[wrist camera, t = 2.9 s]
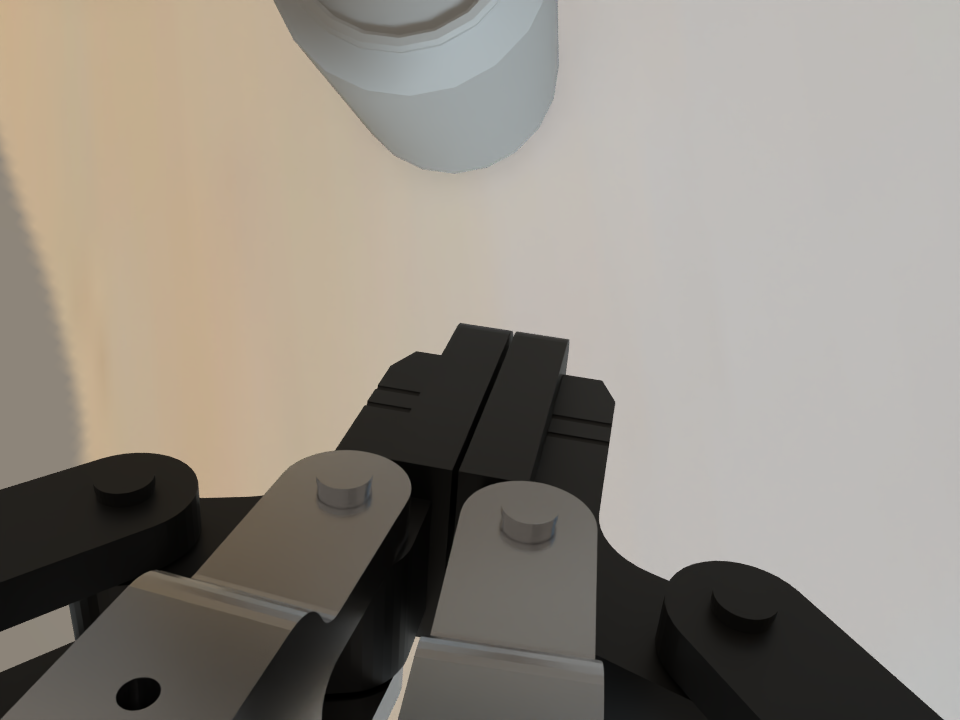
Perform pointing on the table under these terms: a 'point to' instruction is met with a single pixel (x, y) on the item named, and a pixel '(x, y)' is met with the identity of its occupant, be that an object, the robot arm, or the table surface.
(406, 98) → the can
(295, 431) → the table surface
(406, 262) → the table surface
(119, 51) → the table surface
